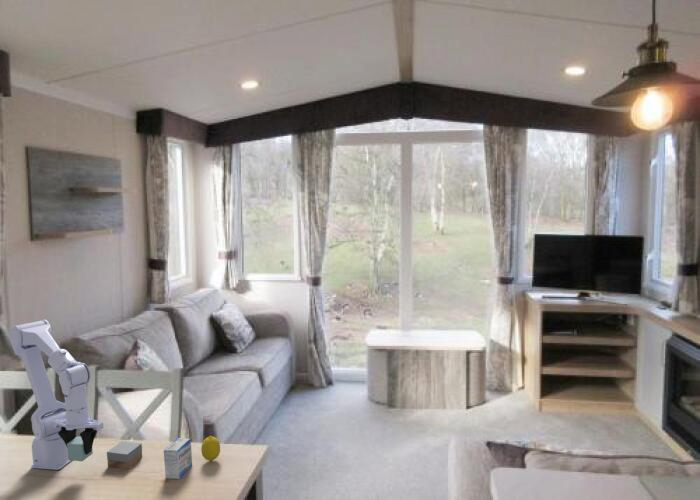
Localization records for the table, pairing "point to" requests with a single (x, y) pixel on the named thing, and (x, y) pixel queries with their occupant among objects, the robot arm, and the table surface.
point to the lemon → (210, 448)
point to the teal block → (77, 450)
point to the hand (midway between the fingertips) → (80, 452)
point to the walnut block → (124, 464)
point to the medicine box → (178, 458)
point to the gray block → (124, 451)
